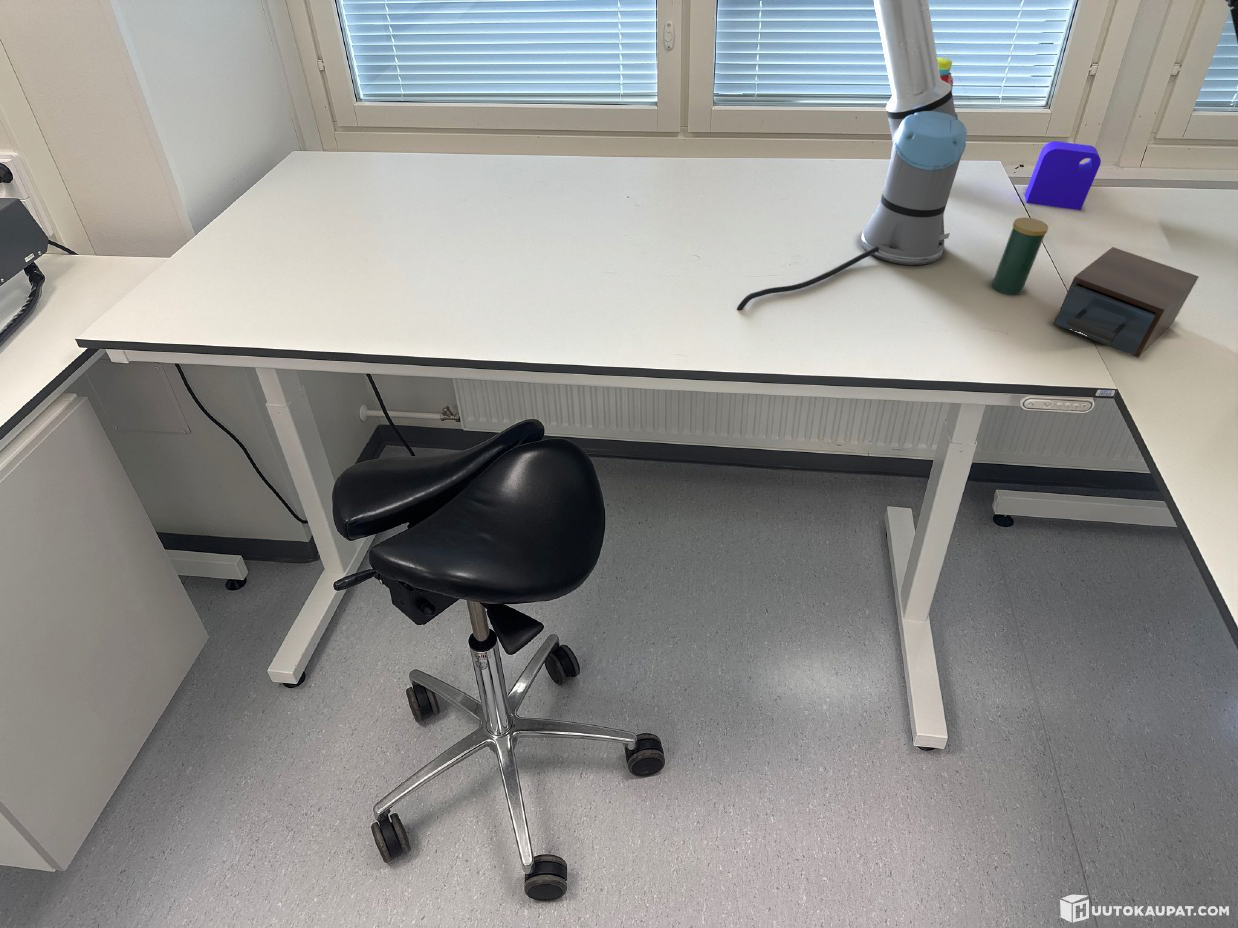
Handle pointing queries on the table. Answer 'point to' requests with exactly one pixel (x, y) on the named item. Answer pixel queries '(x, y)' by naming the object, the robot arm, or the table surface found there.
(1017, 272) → the tea tin
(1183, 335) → the table surface
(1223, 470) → the table surface
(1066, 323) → the drawer
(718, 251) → the table surface
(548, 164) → the table surface
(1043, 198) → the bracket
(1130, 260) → the cabinet
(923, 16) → the robot arm
